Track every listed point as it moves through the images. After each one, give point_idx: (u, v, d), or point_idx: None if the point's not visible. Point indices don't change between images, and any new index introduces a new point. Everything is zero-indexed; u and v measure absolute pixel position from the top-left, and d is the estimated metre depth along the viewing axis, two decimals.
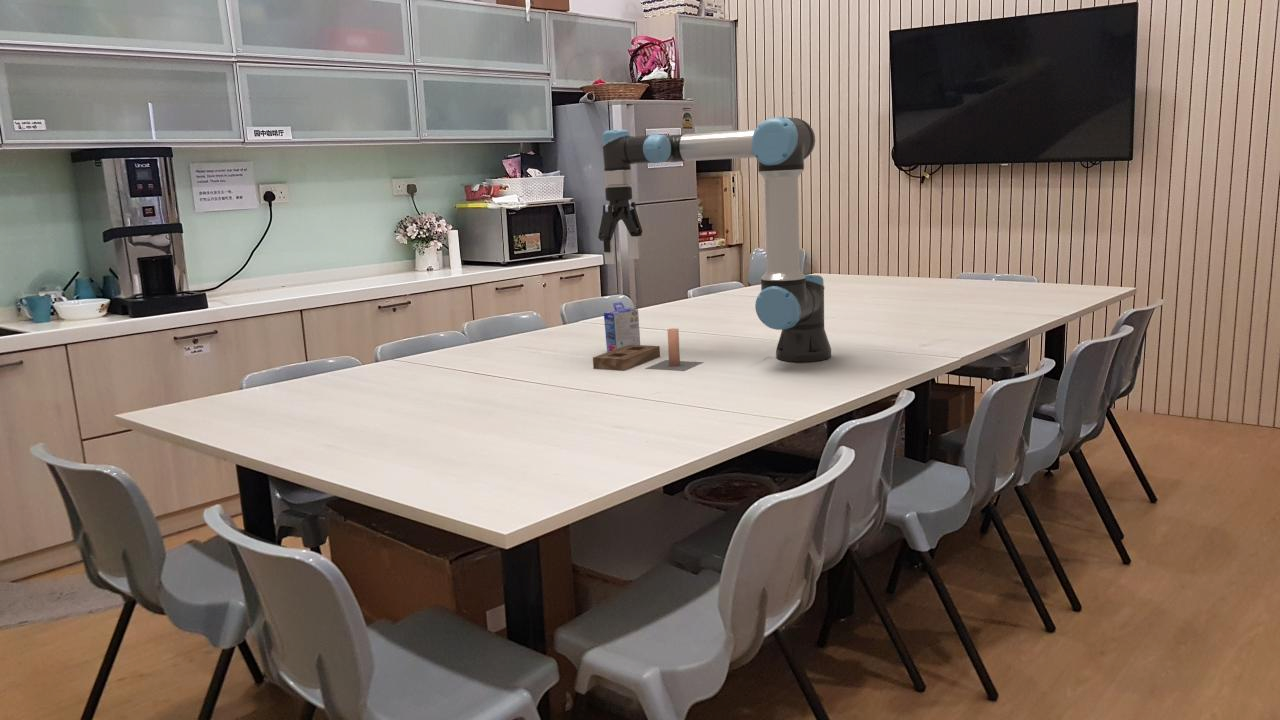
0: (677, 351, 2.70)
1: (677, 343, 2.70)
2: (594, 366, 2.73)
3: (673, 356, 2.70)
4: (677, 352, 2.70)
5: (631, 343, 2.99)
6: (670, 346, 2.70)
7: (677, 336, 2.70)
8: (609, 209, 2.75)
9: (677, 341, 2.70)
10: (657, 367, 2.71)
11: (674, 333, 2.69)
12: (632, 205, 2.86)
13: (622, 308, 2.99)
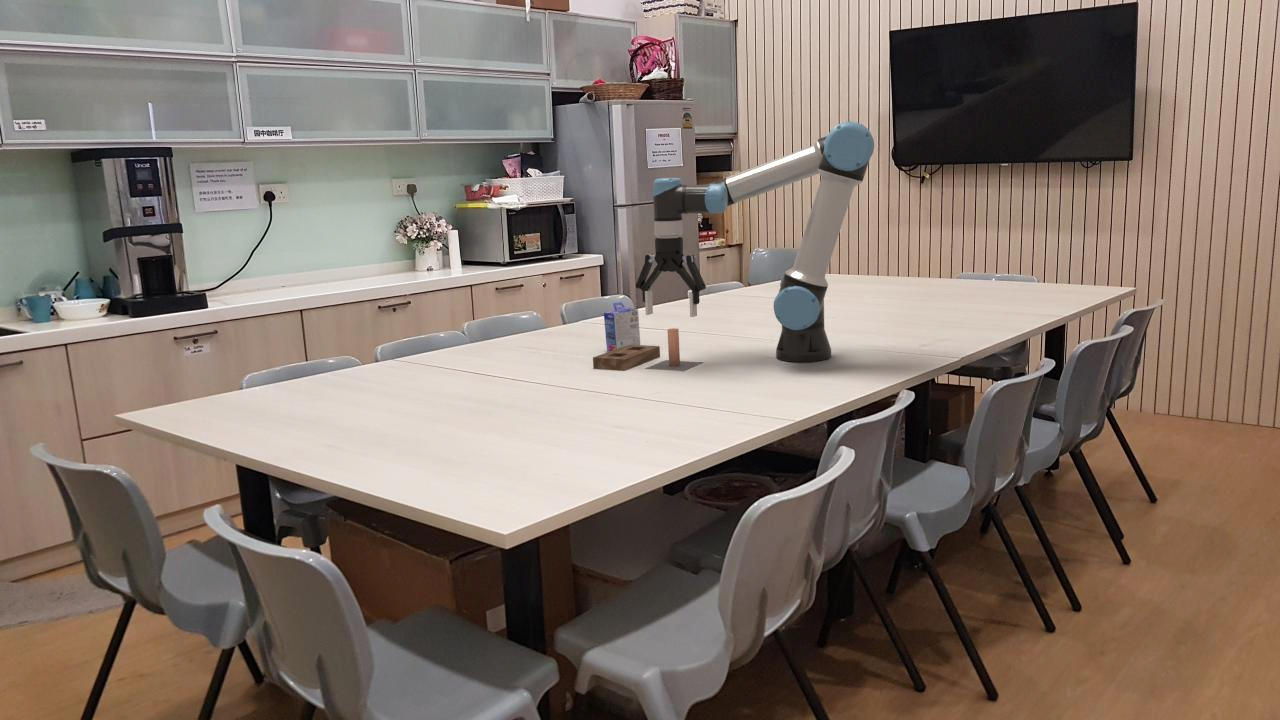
0: (677, 351, 2.70)
1: (677, 343, 2.70)
2: (594, 366, 2.73)
3: (673, 356, 2.70)
4: (677, 352, 2.70)
5: (631, 343, 2.99)
6: (670, 346, 2.70)
7: (677, 336, 2.70)
8: None
9: (677, 341, 2.70)
10: (657, 367, 2.71)
11: (674, 333, 2.69)
12: None
13: (622, 308, 2.99)
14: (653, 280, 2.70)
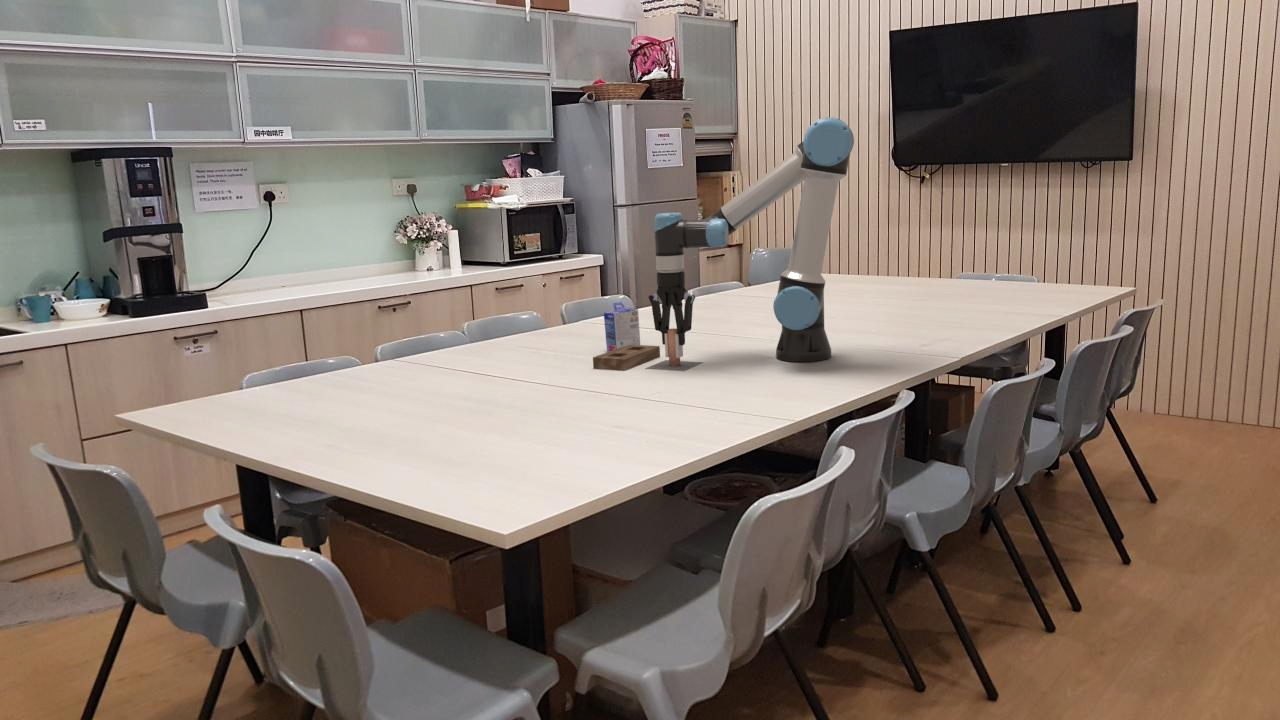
0: None
1: None
2: (594, 366, 2.73)
3: (673, 356, 2.70)
4: None
5: (631, 343, 2.99)
6: (670, 346, 2.70)
7: None
8: None
9: None
10: (657, 367, 2.71)
11: (674, 333, 2.69)
12: None
13: (622, 308, 3.00)
14: (667, 318, 2.71)
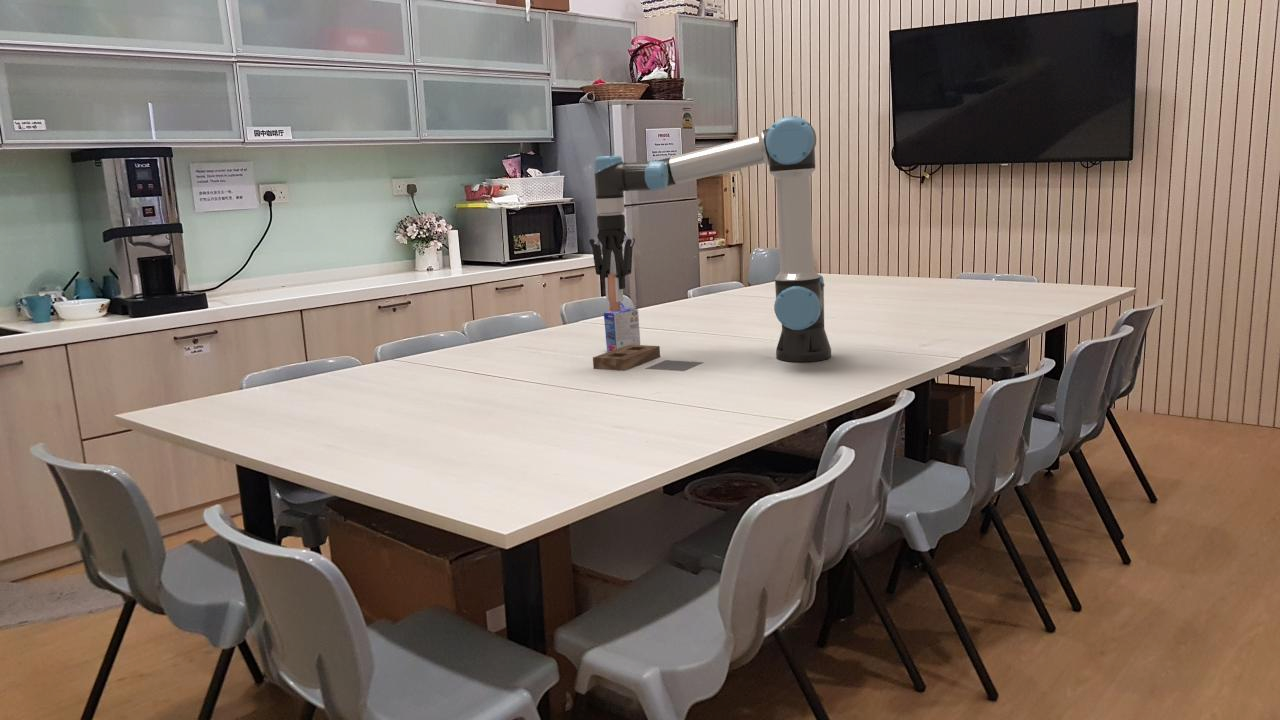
0: None
1: None
2: (594, 366, 2.73)
3: (613, 301, 2.70)
4: None
5: (631, 343, 2.99)
6: (610, 291, 2.70)
7: None
8: None
9: None
10: (657, 367, 2.71)
11: (614, 278, 2.69)
12: None
13: (622, 308, 3.00)
14: (608, 262, 2.71)
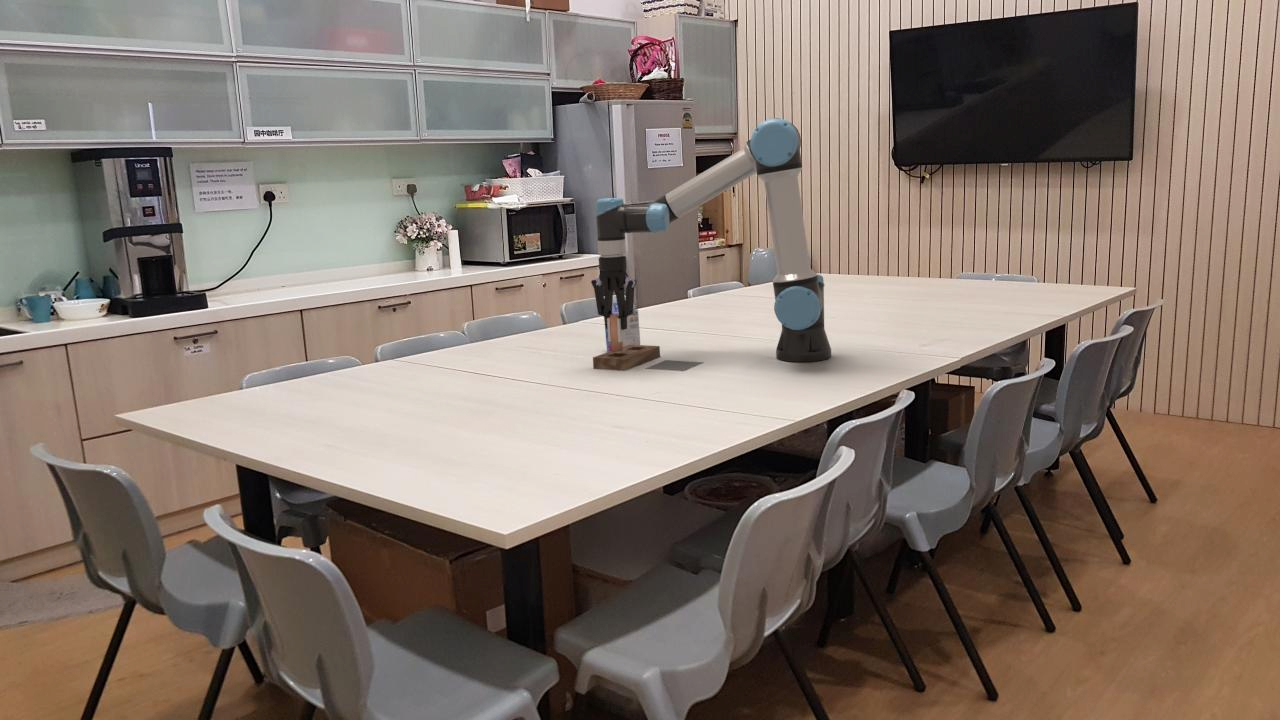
0: None
1: None
2: (594, 366, 2.73)
3: (615, 341, 2.73)
4: None
5: (631, 343, 2.99)
6: (612, 331, 2.72)
7: None
8: None
9: None
10: (657, 367, 2.71)
11: (616, 319, 2.71)
12: None
13: None
14: (610, 303, 2.73)
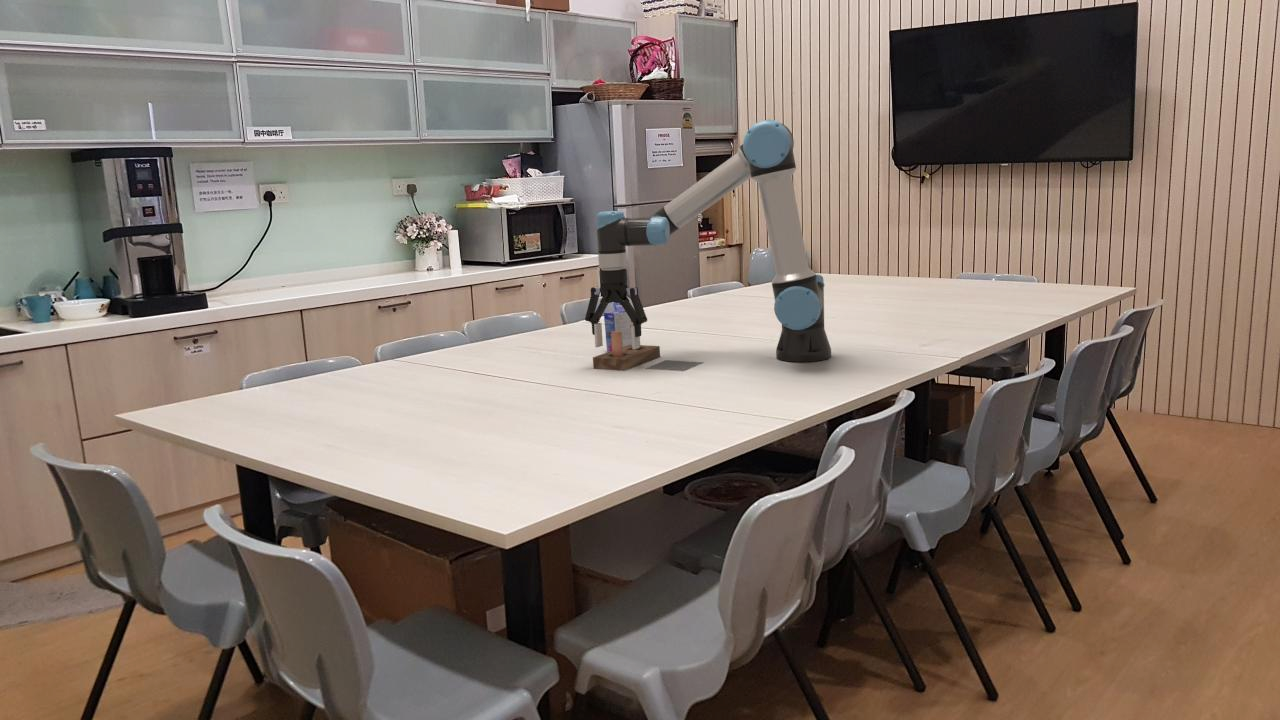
0: (620, 353, 2.73)
1: (620, 345, 2.73)
2: (594, 366, 2.73)
3: None
4: (620, 354, 2.74)
5: (631, 343, 2.99)
6: (613, 348, 2.73)
7: (620, 338, 2.73)
8: None
9: (620, 343, 2.73)
10: (657, 367, 2.71)
11: (617, 336, 2.72)
12: None
13: (622, 308, 3.00)
14: (601, 312, 2.75)
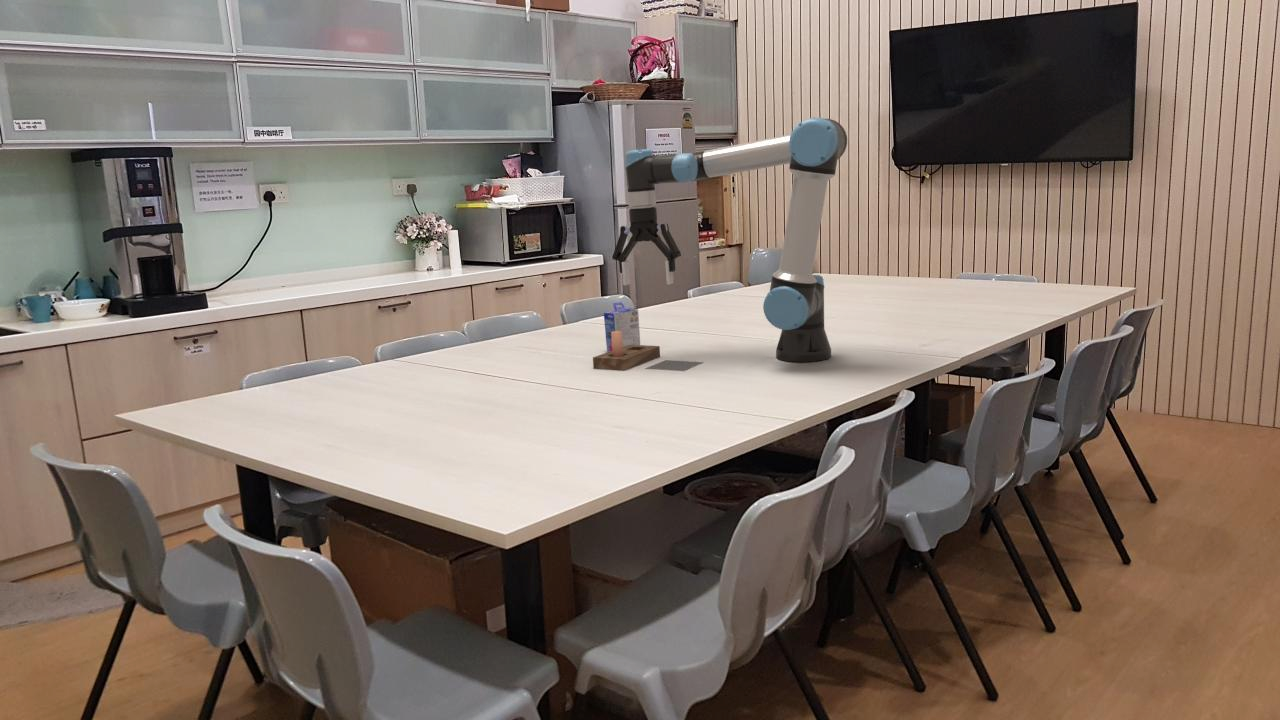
0: (620, 353, 2.73)
1: (620, 345, 2.73)
2: (594, 366, 2.73)
3: None
4: (620, 354, 2.74)
5: (631, 343, 2.99)
6: (614, 348, 2.73)
7: (620, 338, 2.73)
8: None
9: (620, 343, 2.73)
10: (657, 367, 2.71)
11: (617, 336, 2.72)
12: None
13: (622, 308, 2.99)
14: (629, 251, 2.77)
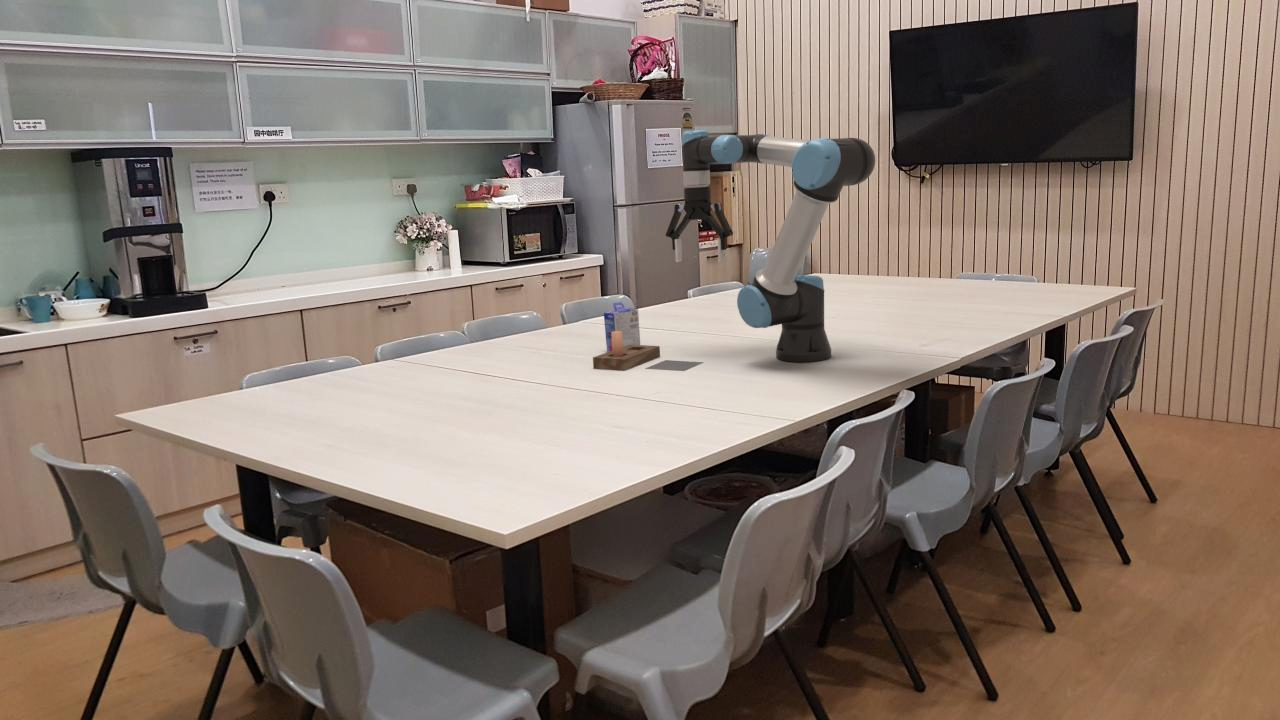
0: (621, 353, 2.73)
1: (620, 345, 2.73)
2: (594, 366, 2.73)
3: None
4: (621, 354, 2.74)
5: (631, 343, 2.99)
6: (614, 348, 2.73)
7: (620, 338, 2.73)
8: None
9: (620, 343, 2.73)
10: (657, 367, 2.71)
11: (617, 336, 2.72)
12: None
13: (622, 308, 3.00)
14: (682, 229, 2.85)
